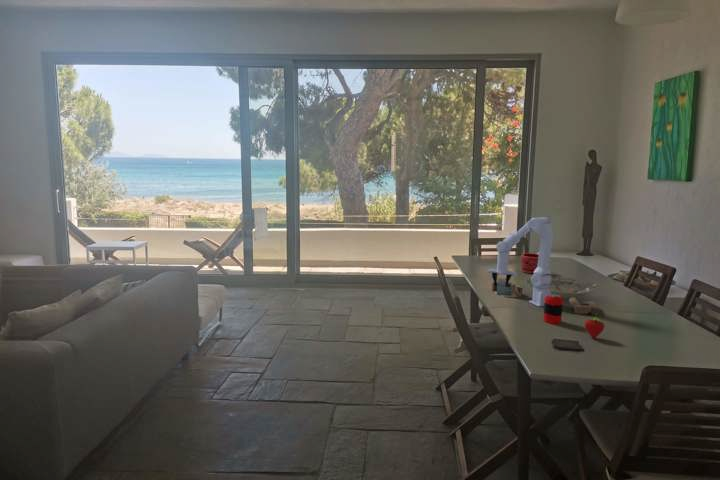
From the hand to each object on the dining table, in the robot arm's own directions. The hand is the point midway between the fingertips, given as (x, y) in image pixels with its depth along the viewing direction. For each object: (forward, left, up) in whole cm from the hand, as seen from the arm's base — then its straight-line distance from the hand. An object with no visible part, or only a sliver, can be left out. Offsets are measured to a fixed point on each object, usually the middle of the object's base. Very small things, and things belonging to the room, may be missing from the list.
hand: (500, 287), depth 268 cm
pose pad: (-3, -2, -3) cm, 5 cm away
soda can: (-50, -1, -4) cm, 50 cm away
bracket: (-1, -2, -2) cm, 3 cm away
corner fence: (-1, -4, -3) cm, 5 cm away
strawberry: (-72, -6, -4) cm, 72 cm away
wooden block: (-42, -24, -2) cm, 48 cm away
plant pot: (+48, -45, -4) cm, 66 cm away
